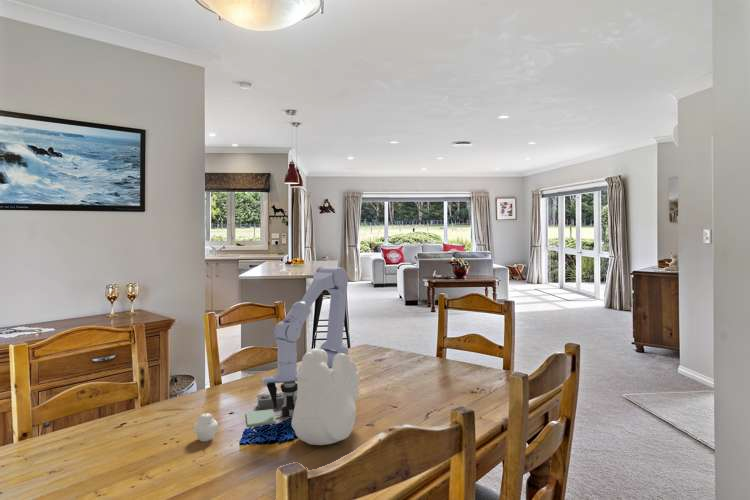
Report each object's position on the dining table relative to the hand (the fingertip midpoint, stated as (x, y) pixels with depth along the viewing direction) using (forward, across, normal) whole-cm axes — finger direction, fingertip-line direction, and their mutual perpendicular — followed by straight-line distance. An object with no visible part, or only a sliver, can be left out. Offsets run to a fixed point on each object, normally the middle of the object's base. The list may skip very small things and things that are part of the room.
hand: (287, 405), depth 141 cm
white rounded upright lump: (+3, -8, +20) cm, 22 cm away
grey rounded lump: (+3, +24, +8) cm, 25 cm away
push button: (+3, 0, 0) cm, 3 cm away
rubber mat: (+3, +8, -1) cm, 9 cm away
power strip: (+3, -2, -9) cm, 10 cm away
